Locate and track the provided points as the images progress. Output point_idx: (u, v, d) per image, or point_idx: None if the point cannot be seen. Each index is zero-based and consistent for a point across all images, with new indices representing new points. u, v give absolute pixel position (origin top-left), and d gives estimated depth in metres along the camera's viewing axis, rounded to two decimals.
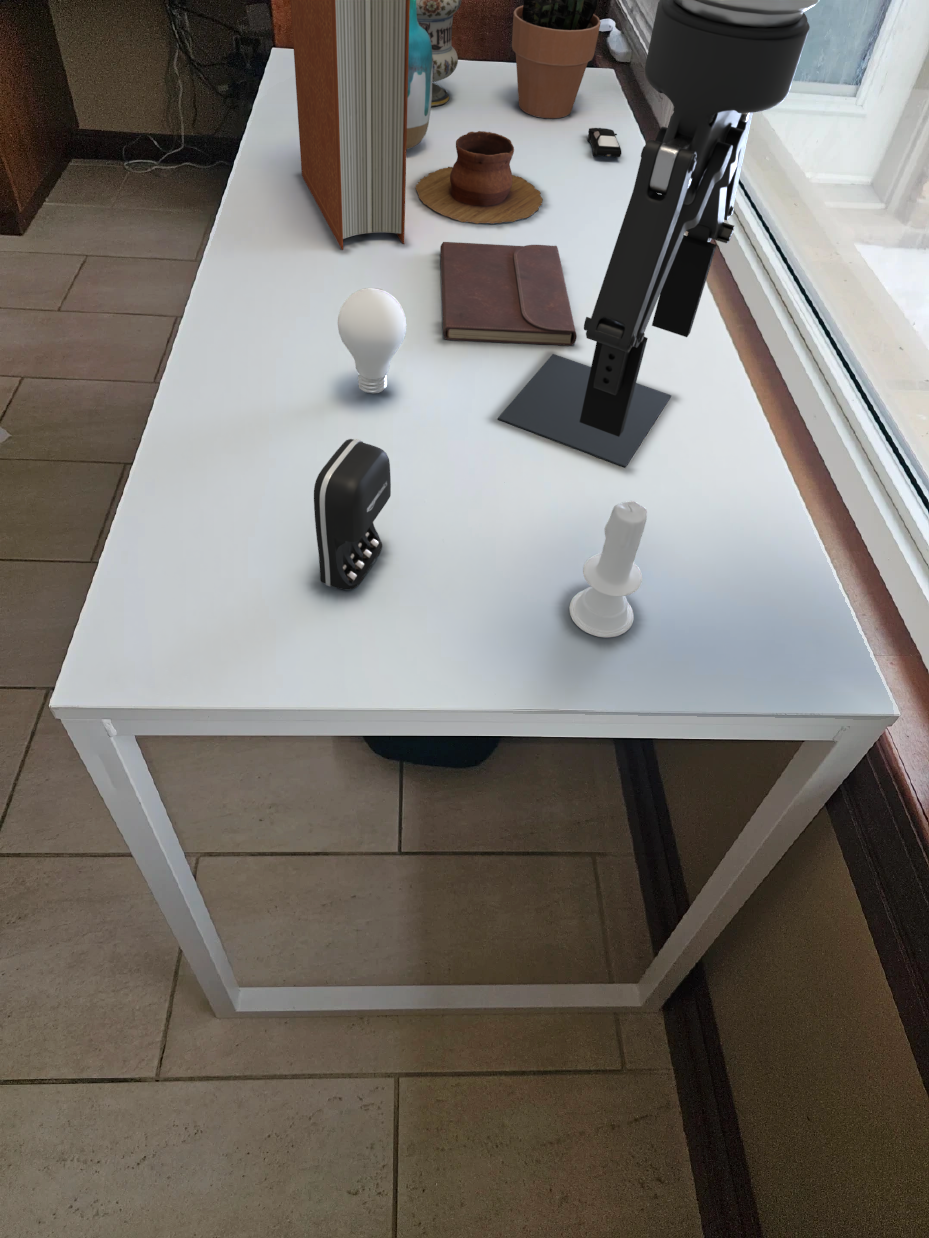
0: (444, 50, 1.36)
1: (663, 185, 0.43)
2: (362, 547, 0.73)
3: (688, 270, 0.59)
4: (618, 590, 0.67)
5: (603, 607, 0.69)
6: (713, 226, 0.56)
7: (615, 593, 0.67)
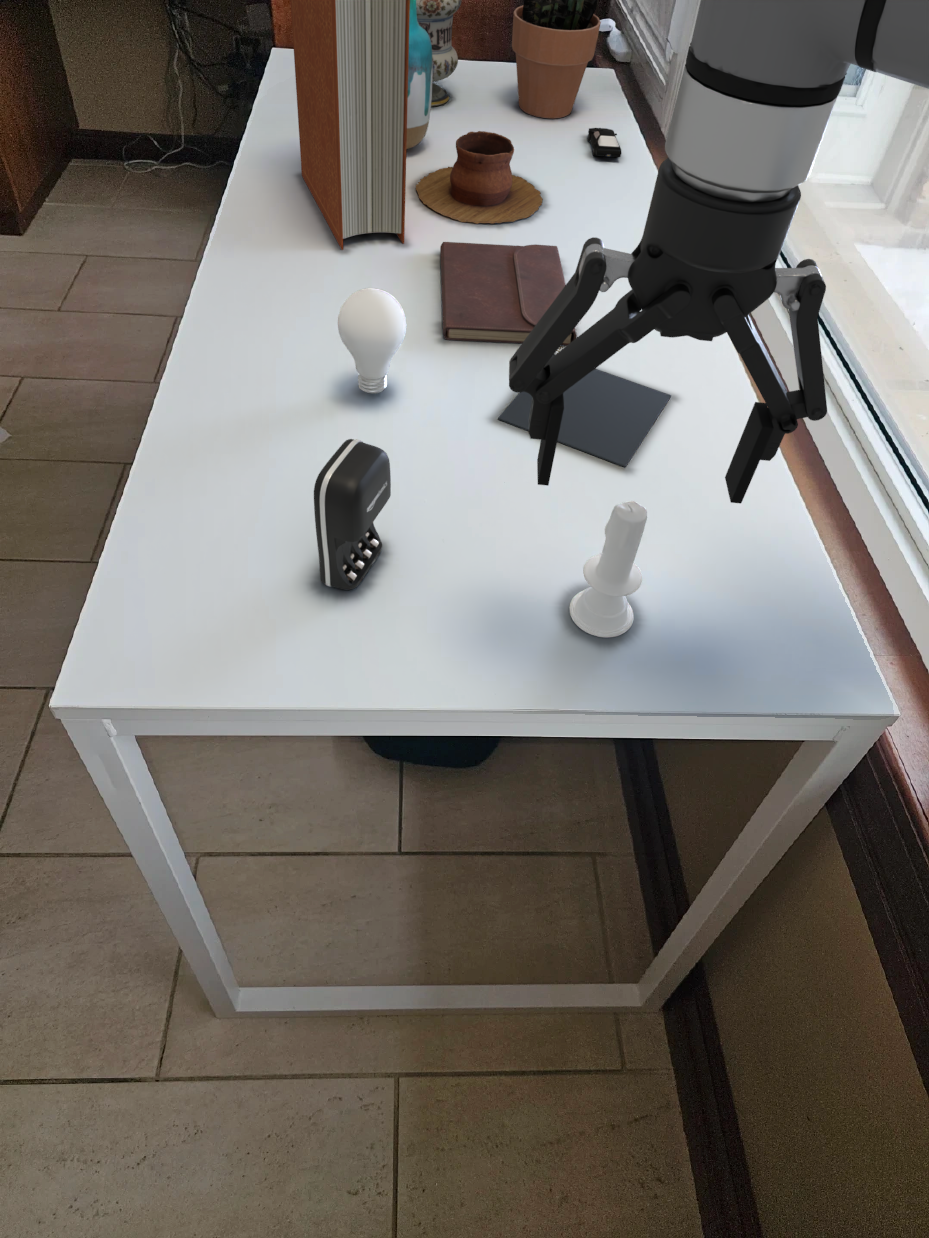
0: (444, 50, 1.36)
1: (579, 274, 0.50)
2: (362, 547, 0.73)
3: (749, 438, 0.58)
4: (618, 590, 0.67)
5: (603, 607, 0.69)
6: (766, 404, 0.55)
7: (615, 593, 0.67)
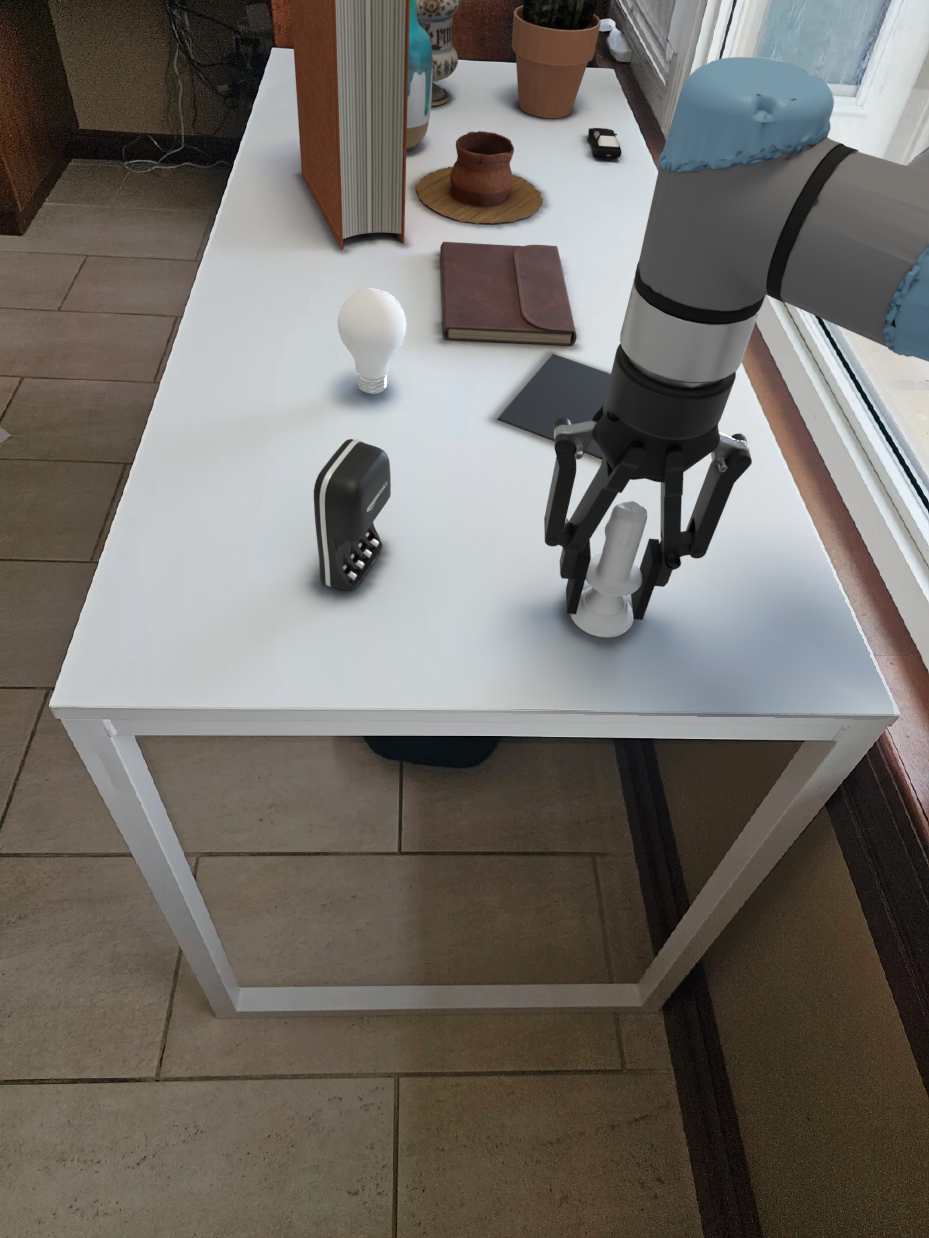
0: (444, 50, 1.36)
1: None
2: (362, 547, 0.73)
3: (645, 568, 0.68)
4: (618, 590, 0.67)
5: (603, 607, 0.69)
6: (663, 540, 0.64)
7: (615, 593, 0.67)
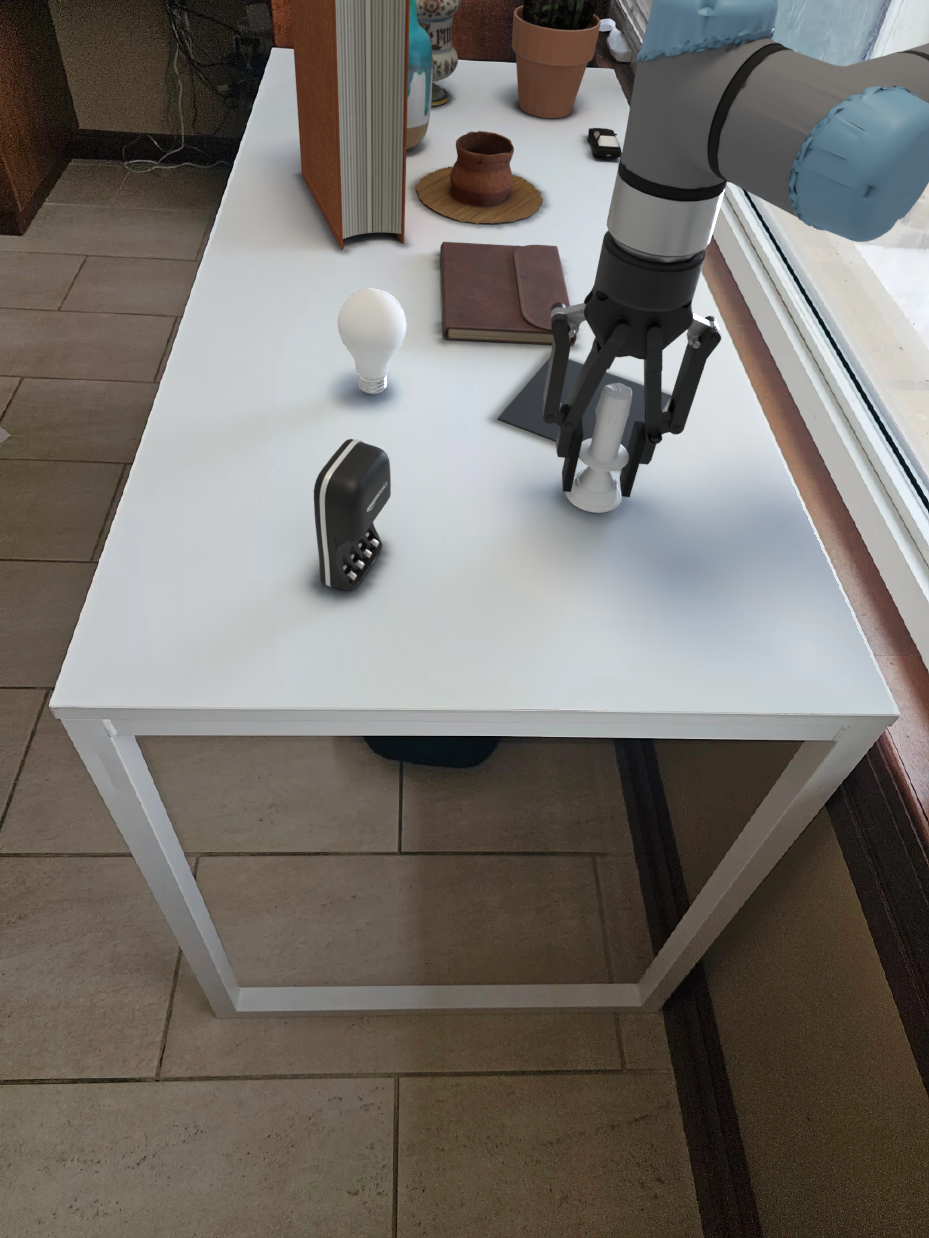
0: (444, 50, 1.36)
1: None
2: (362, 547, 0.73)
3: (631, 447, 0.77)
4: (608, 466, 0.76)
5: (594, 485, 0.79)
6: (646, 417, 0.73)
7: (605, 468, 0.76)
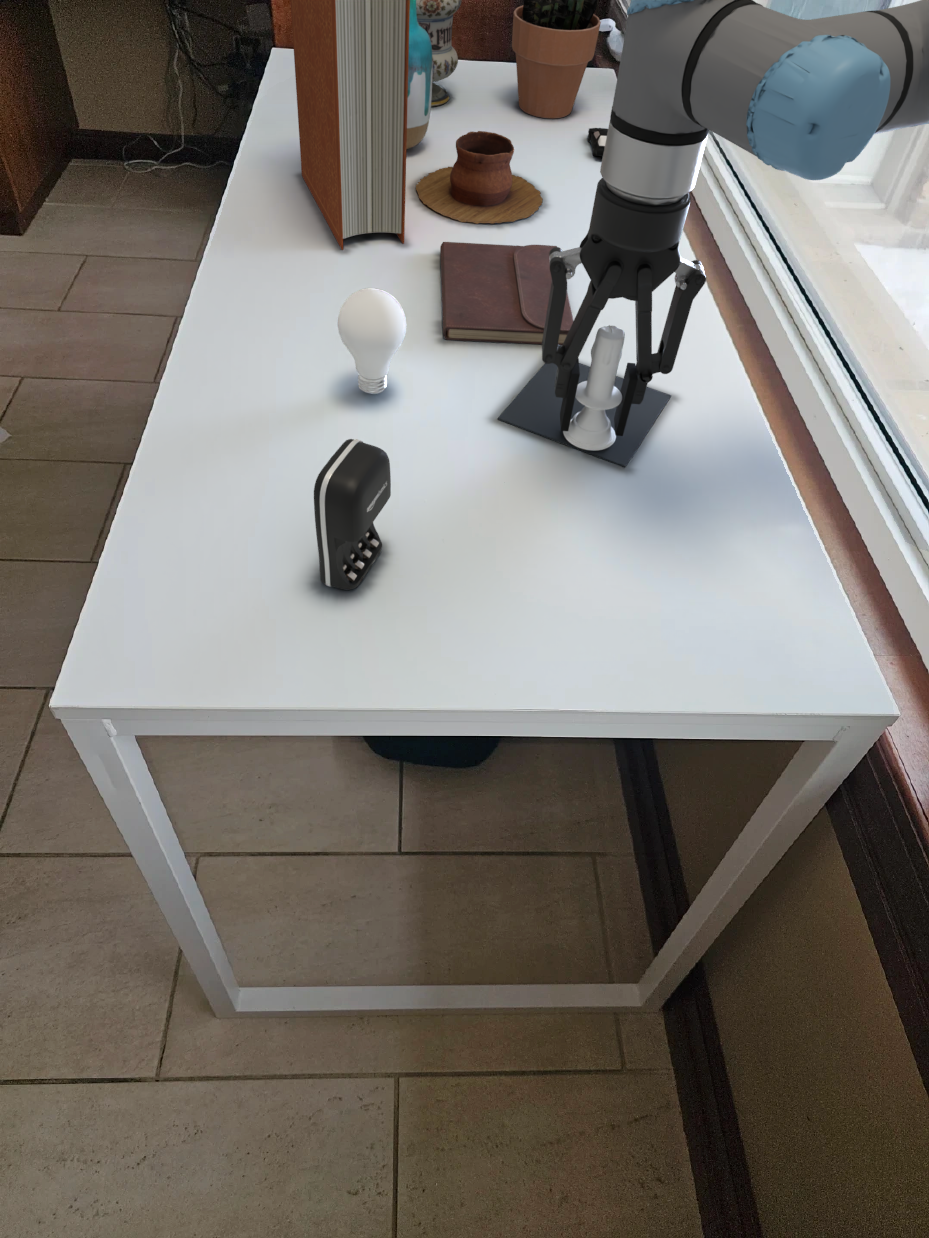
0: (444, 50, 1.36)
1: None
2: (362, 547, 0.73)
3: (624, 388, 0.83)
4: (602, 405, 0.82)
5: (590, 424, 0.85)
6: (638, 358, 0.79)
7: (600, 407, 0.82)
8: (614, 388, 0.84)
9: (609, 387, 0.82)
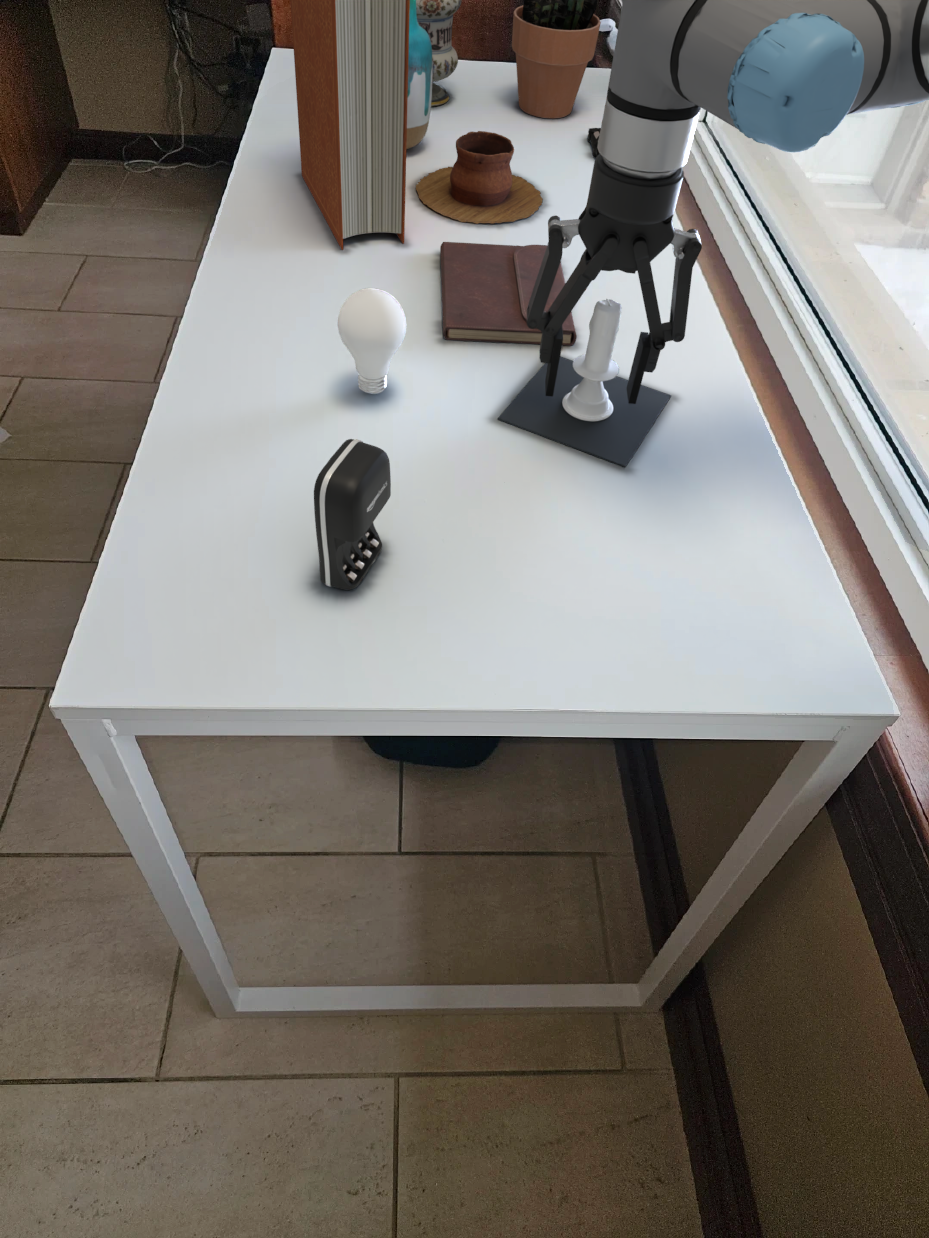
0: (444, 50, 1.36)
1: None
2: (362, 547, 0.73)
3: (637, 356, 0.86)
4: (600, 376, 0.86)
5: (588, 395, 0.88)
6: None
7: (597, 378, 0.85)
8: (611, 361, 0.88)
9: (607, 359, 0.85)
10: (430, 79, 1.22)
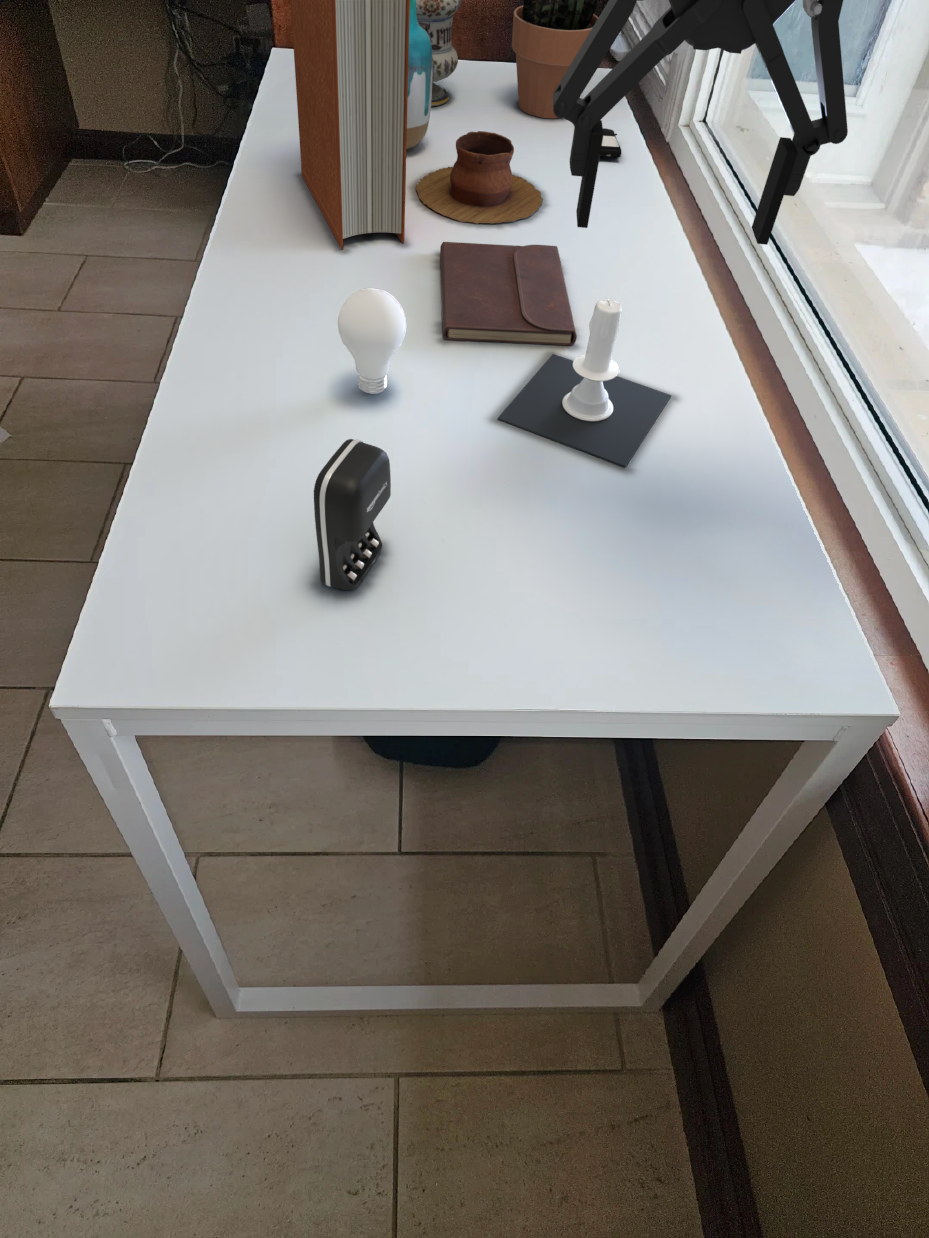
0: (444, 50, 1.36)
1: None
2: (362, 547, 0.73)
3: (775, 172, 0.62)
4: (600, 376, 0.86)
5: (588, 395, 0.88)
6: (791, 127, 0.59)
7: (597, 378, 0.85)
8: (611, 361, 0.88)
9: (607, 359, 0.85)
10: (430, 79, 1.22)
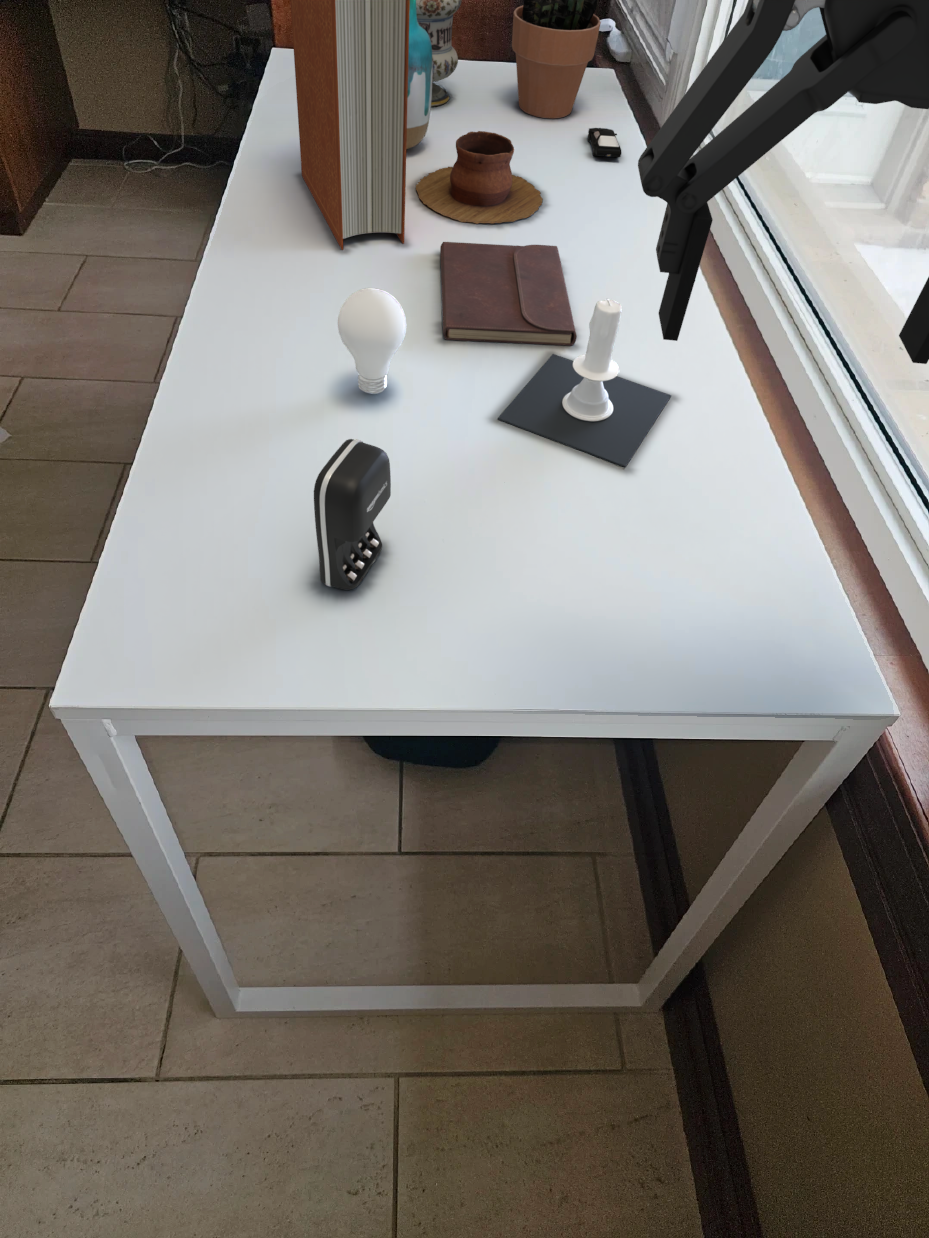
0: (444, 50, 1.36)
1: (756, 5, 0.36)
2: (362, 547, 0.73)
3: None
4: (600, 376, 0.86)
5: (588, 395, 0.88)
6: None
7: (597, 378, 0.85)
8: (612, 361, 0.88)
9: (607, 359, 0.85)
10: (430, 79, 1.22)
